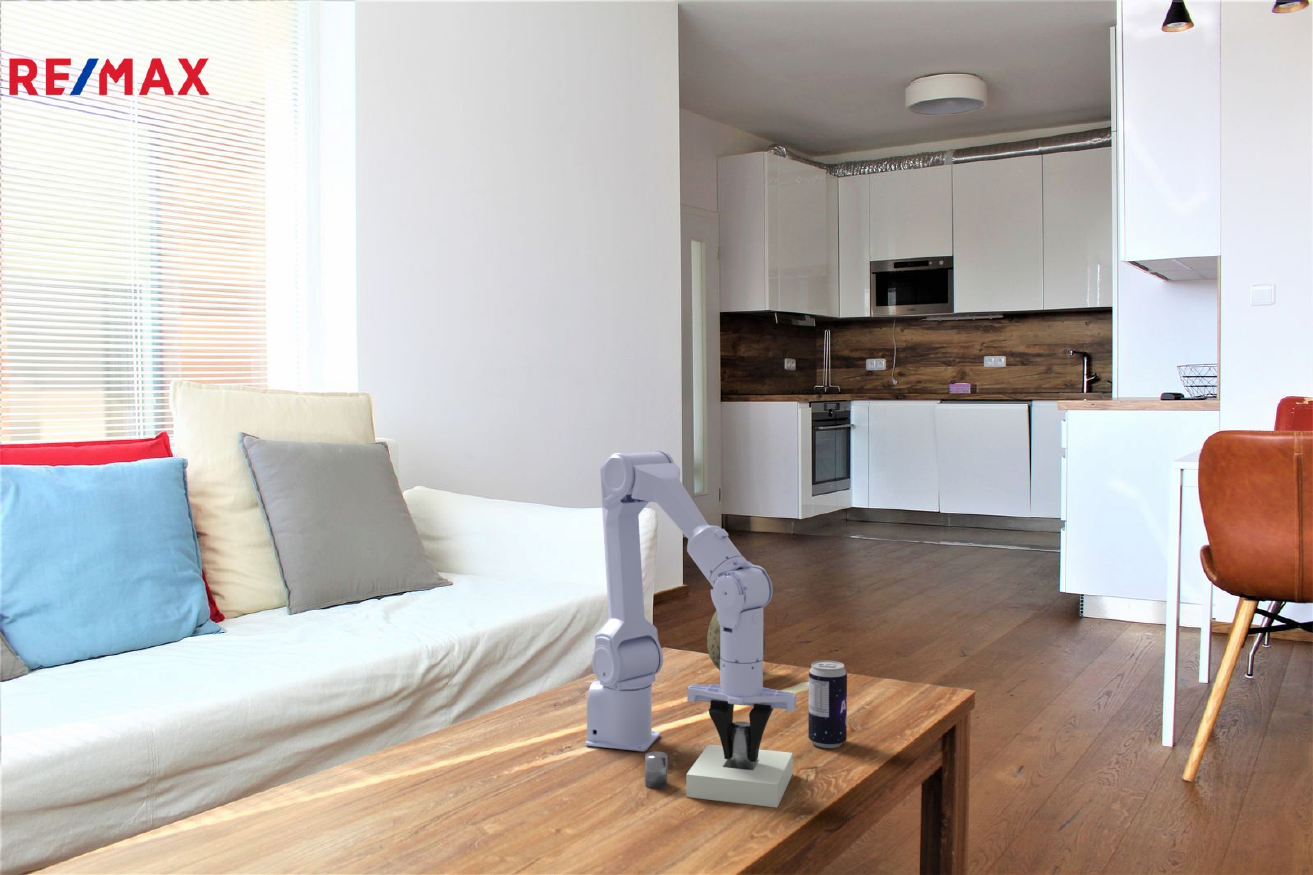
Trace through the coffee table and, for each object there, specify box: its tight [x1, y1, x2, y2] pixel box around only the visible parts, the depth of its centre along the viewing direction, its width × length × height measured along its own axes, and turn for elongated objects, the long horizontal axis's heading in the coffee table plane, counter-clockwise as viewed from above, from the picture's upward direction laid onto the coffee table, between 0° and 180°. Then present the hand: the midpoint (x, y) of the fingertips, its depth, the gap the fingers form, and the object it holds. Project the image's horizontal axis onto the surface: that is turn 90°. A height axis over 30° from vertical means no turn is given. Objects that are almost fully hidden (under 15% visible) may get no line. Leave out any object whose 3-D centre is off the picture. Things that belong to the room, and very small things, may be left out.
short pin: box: [644, 751, 668, 790], centre depth 139 cm, size 3×3×4 cm
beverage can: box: [807, 660, 848, 749], centre depth 155 cm, size 6×6×12 cm
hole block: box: [685, 744, 794, 808], centre depth 139 cm, size 12×12×3 cm
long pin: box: [730, 720, 753, 770], centre depth 139 cm, size 3×3×7 cm
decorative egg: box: [706, 610, 766, 671], centre depth 192 cm, size 11×11×15 cm
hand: (741, 758), depth 139 cm, fingers closed on long pin, 3 cm apart
